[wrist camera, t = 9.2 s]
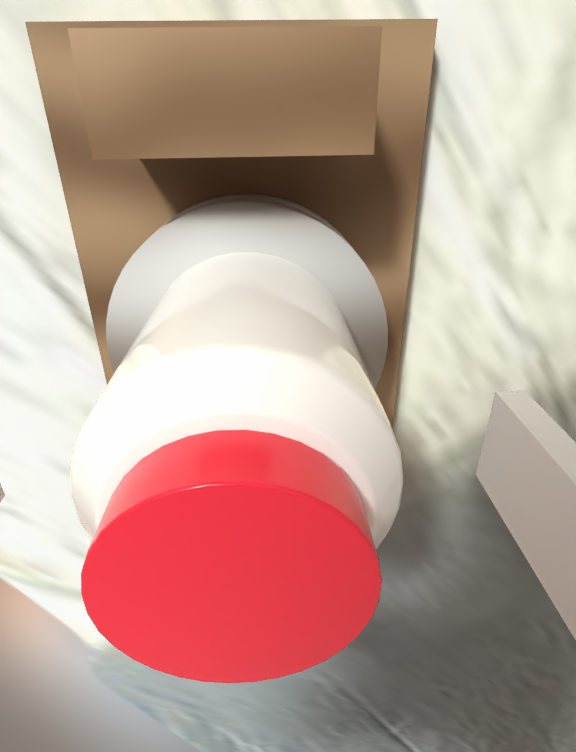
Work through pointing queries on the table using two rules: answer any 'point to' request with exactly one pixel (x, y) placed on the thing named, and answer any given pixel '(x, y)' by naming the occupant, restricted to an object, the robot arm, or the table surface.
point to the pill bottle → (236, 479)
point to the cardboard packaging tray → (241, 160)
